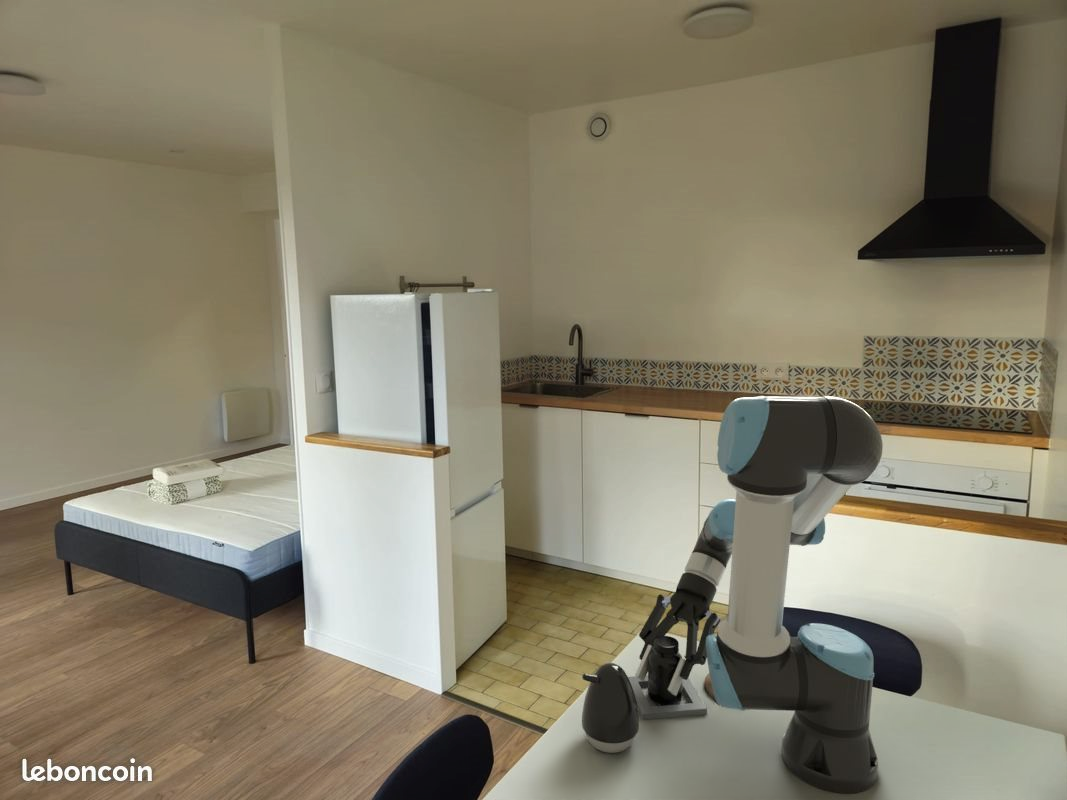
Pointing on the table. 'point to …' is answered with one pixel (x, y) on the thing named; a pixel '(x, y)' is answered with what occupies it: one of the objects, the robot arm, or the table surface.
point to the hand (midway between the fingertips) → (655, 685)
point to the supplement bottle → (663, 671)
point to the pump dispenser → (610, 709)
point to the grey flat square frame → (667, 711)
